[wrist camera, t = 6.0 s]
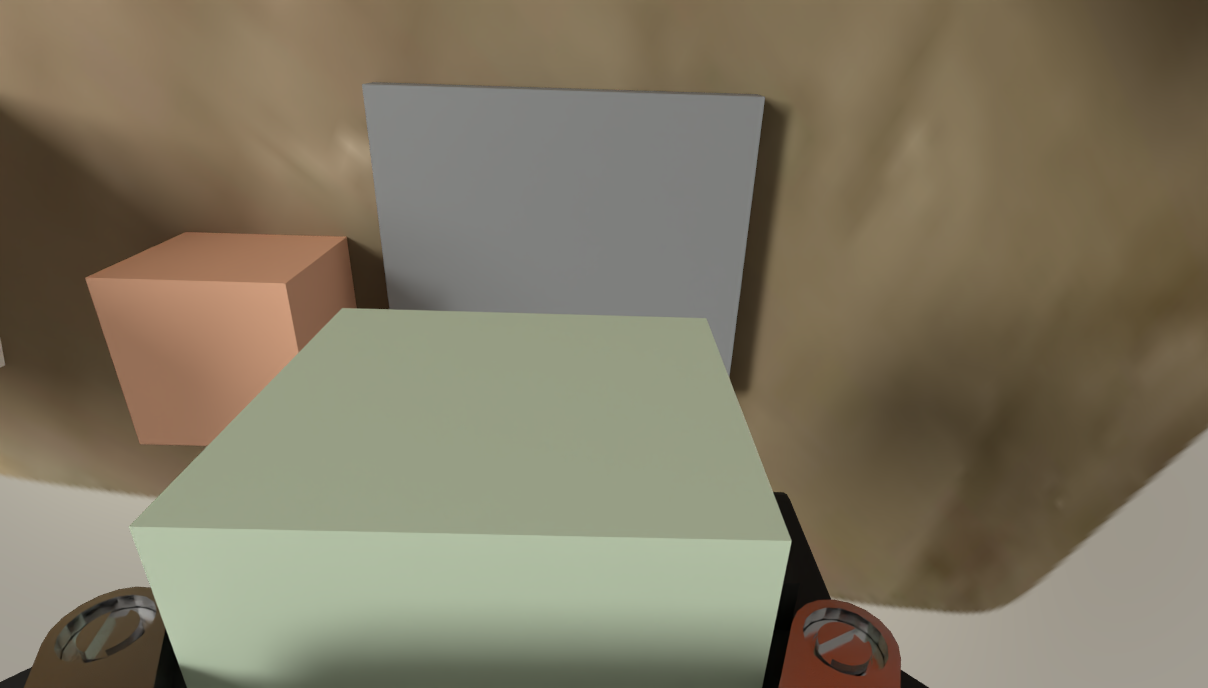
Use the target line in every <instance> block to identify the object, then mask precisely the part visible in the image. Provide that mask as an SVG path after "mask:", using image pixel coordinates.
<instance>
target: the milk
mask: <svg viewBox="0 0 1208 688" xmlns="http://www.w3.org/2000/svg"><path fill="white" fill-rule="evenodd" d="M2 366H5V361H4V356H3V350H2V345H1V339H0V367H2Z"/></svg>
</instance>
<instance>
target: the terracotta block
mask: <svg viewBox="0 0 1208 688" xmlns="http://www.w3.org/2000/svg"><path fill="white" fill-rule="evenodd" d="M85 279H86V282H87V285H88V288H89V291H90V294H91V297H92V300H93V303H94V306H95V309H96V312H97V315H98V318H99V321H100V324H101V327H102V330H103V333H104V336H105V339H106V342H107V345H108V348H109V351H110V354H111V357H112V361H113V364H114V367H115V370H116V373H117V376H118V379H119V382H120V385H121V388H122V391H123V394H124V397H125V400H126V403H127V406H128V409H129V412H130V415H131V418H132V421H133V424H134V427H135V430H136V433H137V436H138V439H139V442H140V444H154V445H195V446H208V445H209V444H210V443H211V442H212V441H213V440H214V439H215V438H216V437H217V436H218V435H219V434H220V433H221V432H222V431H223V430H224V429H225V428H226V427H227V426H228V424H229V423H230V422H231V421H232V420H233V419H234V418H235V417H236V416H237V415H238V414H239V413H240V412H241V411H242V410H243V409H244V408H245V407H246V406H247V405H248V404H249V403H250V402H251V401H252V400H253V399H254V398H255V397H256V396H257V395H258V394H259V393H260V392H261V391H262V390H263V389H264V388H265V387H266V386H267V385H268V384H269V382H270V381H271V380H272V379H273V378H274V377H275V376H276V375H277V374H278V373H279V372H280V371H281V370H282V369H283V368H284V367H285V366H286V365H287V364H288V363H289V362H290V361H291V360H292V359H293V358H294V357H295V356H296V355H297V354H298V353H299V352H300V351H301V350H302V349H303V348H304V347H305V346H306V345H307V344H308V343H309V341H310V340H311V339H312V338H313V337H314V336H315V335H316V334H317V333H318V332H319V331H320V330H321V329H322V328H323V327H324V326H325V325H326V324H327V323H328V322H329V321H330V320H331V319H332V318H333V317H334V316H335V315H336V314H337V313H338V312H339V311H340V310H341V309H342V308H357V306H356V299H355V292H354V285H353V278H352V271H351V264H350V257H349V250H348V243H347V237H337V236H302V235H268V234H234V233H200V232H185V233H182V234H180V235H178V236H176V237H174V238H171V239H169V240H167V241H165V242H163V243H160V244H158V245H156V246H154V247H152V248H149V249H147V250H145V251H143V252H141V253H138V254H136V255H134V256H132V257H130V258H127V259H125V260H123V261H121V262H119V263H116V264H114V265H112V266H110V267H108V268H105V269H103V270H101V271H99V272H97V273H94V274H92V275H90V276H88V277H86V278H85Z"/></svg>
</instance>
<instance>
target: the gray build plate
mask: <svg viewBox="0 0 1208 688" xmlns="http://www.w3.org/2000/svg"><path fill="white" fill-rule="evenodd" d="M362 88H363V96H364V104H365V112H366V120H367V129H368V137H369V145H370V153H371V162H372V170H373V178H374V186H375V194H376V203H377V211H378V219H379V227H380V236H381V244H382V252H383V260H384V268H385V277H386V285H387V293H388V301H389V309H393V310H429V311H465V312H501V313H537V314H574V315H610V316H646V317H682V318H706V319H707V321H708V324H709V327H710V329H711V332H712V334H713V337H714V340H715V342H716V345H717V348H718V350H719V353H720V355H721V358H722V361H723V363H724V366H725V368H726V371H727V374H728V376H730V368H731V360H732V352H733V344H734V336H735V329H736V321H737V313H738V305H739V297H740V289H741V282H742V274H743V266H744V258H745V250H746V242H747V235H748V227H749V219H750V211H751V203H752V195H753V188H754V180H755V172H756V164H757V156H758V148H759V141H760V133H761V125H762V117H763V109H764V101H765V97H764V96H761V95H758V94H729V93H697V92H665V91H633V90H601V89H569V88H538V87H506V86H474V85H442V84H410V83H378V82H372V83H367V84H362Z"/></svg>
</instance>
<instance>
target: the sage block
mask: <svg viewBox="0 0 1208 688" xmlns="http://www.w3.org/2000/svg"><path fill="white" fill-rule="evenodd" d="M129 529H130V531H131V534H132V537H133V540H134V542H135V545H136V548H137V550H138V553H139V556H140V559H141V561H142V564H143V567H144V570H145V573H146V575H147V578H148V580H149V584H150V586H151V589H152V592H153V595H154V598H155V600H156V603H157V606H158V609H159V611H160V614H161V617H162V620H163V622H164V625H165V628H166V631H167V633H168V636H169V639H170V642H171V645H172V647H173V650H174V653H175V656H176V658H177V661H178V664H179V667H180V669H181V672H182V675H183V678H184V680H185V683H186V686H187V688H762V685H763V680H764V675H765V670H766V665H767V660H768V655H769V650H770V645H771V640H772V636H773V631H774V626H775V621H776V616H777V611H778V606H779V601H780V596H781V591H782V586H783V581H784V576H785V571H786V566H787V561H788V556H789V551H790V547H791V542H792V541H791V538H790V535H789V533H788V530H787V528H786V525H785V522H784V520H783V517H782V515H781V512H780V509H779V507H778V504H777V501H776V499H775V496H774V494H773V491H772V488H771V486H770V483H769V481H768V478H767V475H766V473H765V470H764V468H763V465H762V462H761V460H760V457H759V455H758V452H757V449H756V447H755V444H754V441H753V439H752V436H751V434H750V431H749V428H748V426H747V423H746V421H745V418H744V415H743V413H742V410H741V408H740V405H739V402H738V400H737V397H736V395H735V392H734V389H733V387H732V384H731V381H730V379H729V376H728V374H727V371H726V368H725V366H724V363H723V361H722V358H721V355H720V353H719V350H718V348H717V345H716V342H715V340H714V337H713V334H712V332H711V329H710V327H709V324H708V321H707V319H706V318H682V317H646V316H610V315H574V314H537V313H501V312H465V311H429V310H393V309H357V308H342V309H341V310H340V311H339V312H338V313H337V314H336V315H335V316H334V317H333V318H332V319H331V320H330V321H329V322H328V323H327V324H326V325H325V326H324V327H323V328H322V329H321V330H320V331H319V332H318V333H317V334H316V335H315V336H314V337H313V338H312V339H311V340H310V341H309V343H308V344H307V345H306V346H305V347H304V348H303V349H302V350H301V351H300V352H299V353H298V354H297V355H296V356H295V357H294V358H293V359H292V360H291V361H290V362H289V363H288V364H287V365H286V366H285V367H284V368H283V369H282V370H281V371H280V372H279V373H278V374H277V375H276V376H275V377H274V378H273V379H272V380H271V381H270V382H269V384H268V385H267V386H266V387H265V388H264V389H263V390H262V391H261V392H260V393H259V394H258V395H257V396H256V397H255V398H254V399H253V400H252V401H251V402H250V403H249V404H248V405H247V406H246V407H245V408H244V409H243V410H242V411H241V412H240V413H239V414H238V415H237V416H236V417H235V418H234V419H233V420H232V421H231V422H230V423H229V424H228V426H227V427H226V428H225V429H224V430H223V431H222V432H221V433H220V434H219V435H218V436H217V437H216V438H215V439H214V440H213V441H212V442H211V443H210V444H209V445H208V446H207V447H206V448H205V449H204V450H203V451H202V452H201V453H200V454H199V455H198V456H197V457H196V458H195V459H194V460H193V461H192V462H191V463H190V464H189V465H188V467H187V468H186V469H185V470H184V471H183V472H182V473H181V474H180V475H179V476H178V477H177V478H176V479H175V480H174V481H173V482H172V483H171V484H170V485H169V486H168V487H167V488H166V489H165V490H164V491H163V492H162V493H161V494H160V495H159V496H158V497H157V498H156V499H155V500H154V501H153V502H152V503H151V505H150V506H148V508H147V509H146V510H145V511H144V512H143V513H142V514H141V515H140V516H139V517H138V518H137V519H136V520H135V521H134V522H133V523H132V524H131V525H130V526H129Z"/></svg>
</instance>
